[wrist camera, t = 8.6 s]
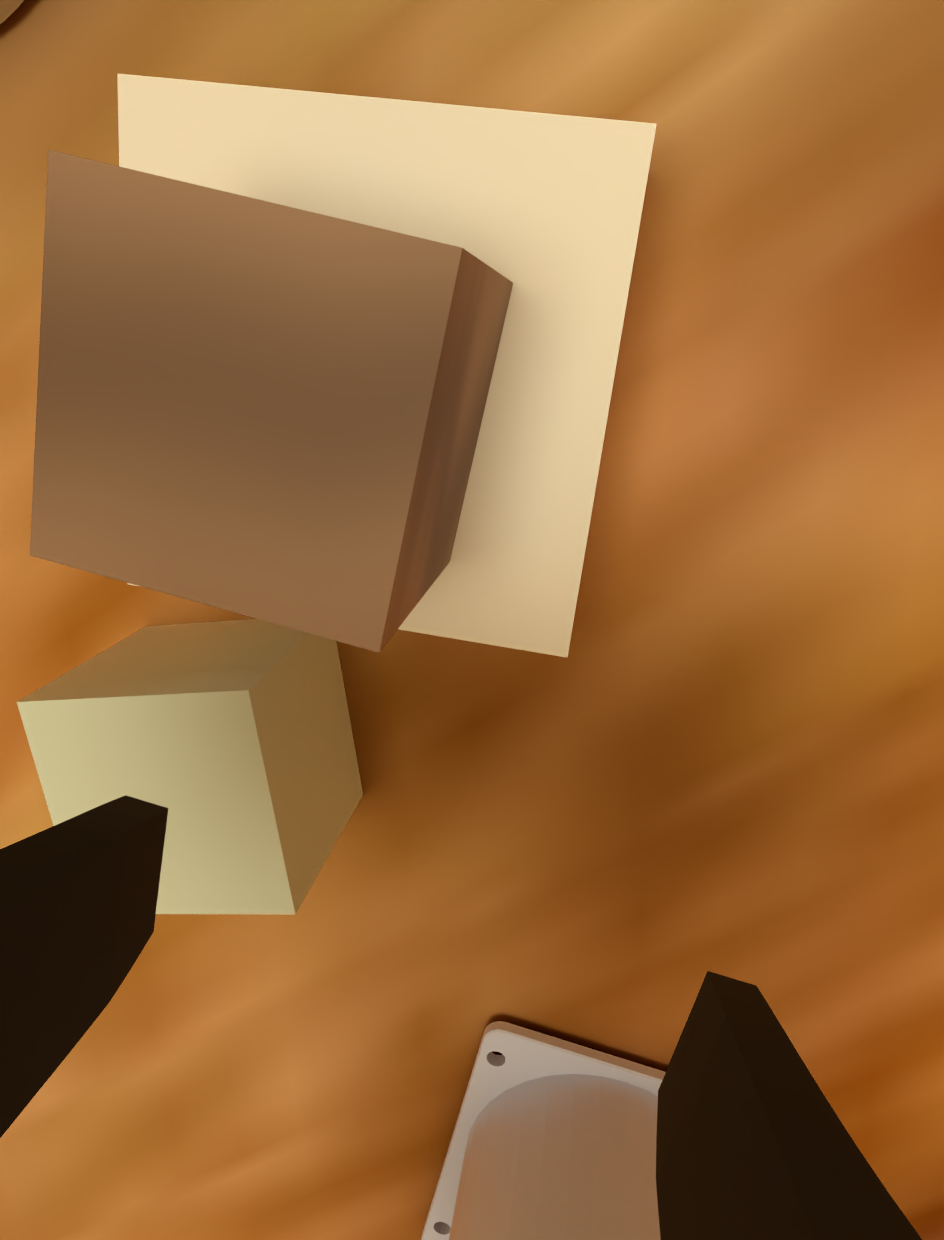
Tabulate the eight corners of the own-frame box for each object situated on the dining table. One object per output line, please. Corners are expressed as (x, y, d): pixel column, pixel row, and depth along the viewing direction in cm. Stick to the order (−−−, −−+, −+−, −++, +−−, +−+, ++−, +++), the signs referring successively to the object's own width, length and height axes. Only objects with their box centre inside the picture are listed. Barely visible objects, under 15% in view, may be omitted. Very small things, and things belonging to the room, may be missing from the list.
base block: (575, 598, 20) (567, 657, 16) (215, 541, 21) (127, 584, 17) (646, 175, 17) (656, 124, 13) (222, 133, 18) (117, 73, 14)
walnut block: (449, 562, 16) (379, 652, 11) (201, 495, 16) (29, 555, 11) (513, 283, 14) (462, 247, 9) (233, 216, 14) (49, 149, 10)
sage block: (363, 793, 22) (295, 914, 17) (189, 797, 23) (79, 913, 18) (332, 612, 20) (248, 690, 16) (148, 625, 21) (16, 701, 17)
